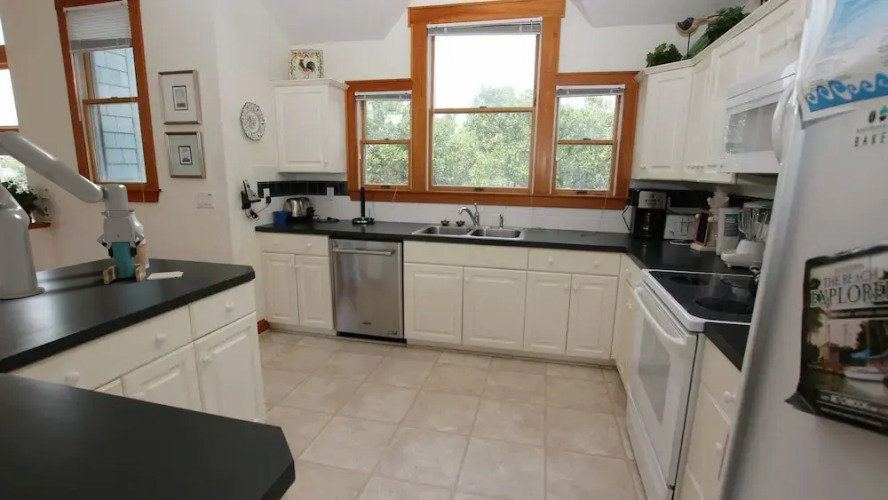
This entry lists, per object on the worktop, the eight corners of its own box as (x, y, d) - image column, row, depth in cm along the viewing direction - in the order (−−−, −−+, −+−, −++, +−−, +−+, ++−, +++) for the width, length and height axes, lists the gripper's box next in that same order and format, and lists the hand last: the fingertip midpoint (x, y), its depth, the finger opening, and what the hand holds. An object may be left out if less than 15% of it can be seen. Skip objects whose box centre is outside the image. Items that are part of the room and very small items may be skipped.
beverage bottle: (140, 277, 173) (133, 231, 169) (126, 281, 166) (119, 234, 162) (126, 276, 173) (119, 230, 169) (112, 280, 167) (104, 233, 163)
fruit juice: (145, 271, 185) (136, 210, 179) (121, 272, 182) (110, 210, 176) (152, 265, 193) (144, 207, 187) (129, 267, 190) (119, 208, 184)
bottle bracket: (104, 284, 162) (102, 272, 161) (112, 277, 173) (111, 266, 172) (140, 281, 167) (139, 269, 166) (146, 274, 178) (145, 263, 177)
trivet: (147, 280, 169) (146, 278, 169) (151, 274, 178) (151, 273, 178) (180, 277, 174) (180, 276, 174) (183, 272, 183) (183, 271, 183)
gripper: (87, 215, 158) (94, 260, 161) (141, 214, 165) (146, 257, 169) (94, 214, 164) (100, 257, 168) (145, 213, 172) (150, 254, 175)
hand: (123, 256), depth 168 cm, fingers open, 6 cm apart
